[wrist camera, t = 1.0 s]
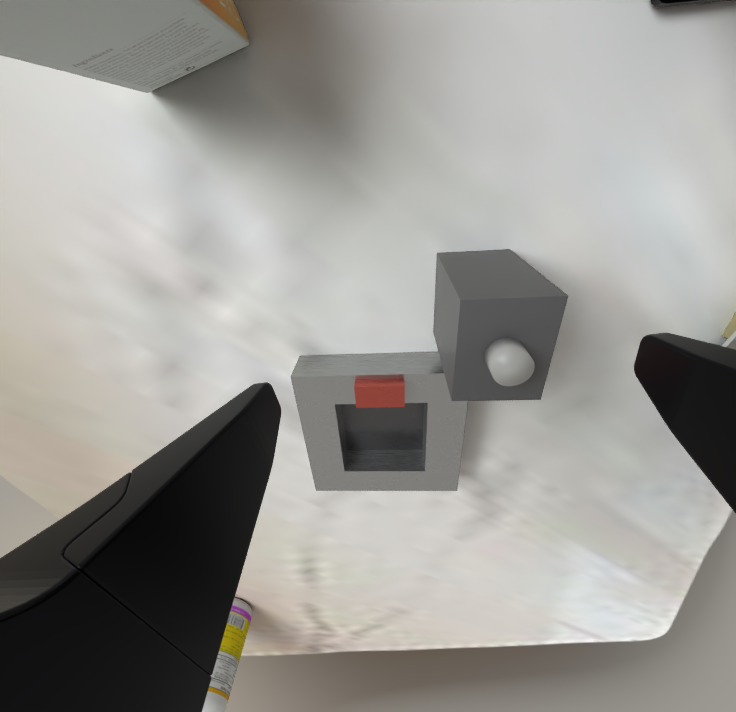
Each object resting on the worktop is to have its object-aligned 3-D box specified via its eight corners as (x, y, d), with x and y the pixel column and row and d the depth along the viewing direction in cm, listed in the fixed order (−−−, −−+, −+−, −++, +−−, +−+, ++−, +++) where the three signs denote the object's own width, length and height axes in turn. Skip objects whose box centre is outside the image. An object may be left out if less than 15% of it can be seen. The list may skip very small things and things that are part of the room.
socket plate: (463, 351, 22) (474, 380, 19) (451, 464, 28) (458, 500, 25) (299, 355, 23) (287, 384, 20) (321, 465, 29) (314, 499, 26)
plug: (509, 249, 19) (584, 308, 12) (497, 329, 21) (551, 417, 14) (436, 252, 19) (466, 312, 12) (433, 331, 21) (456, 418, 14)
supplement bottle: (208, 614, 46) (152, 760, 35) (198, 591, 42) (132, 745, 31) (257, 618, 45) (216, 766, 35) (251, 595, 42) (203, 752, 31)
